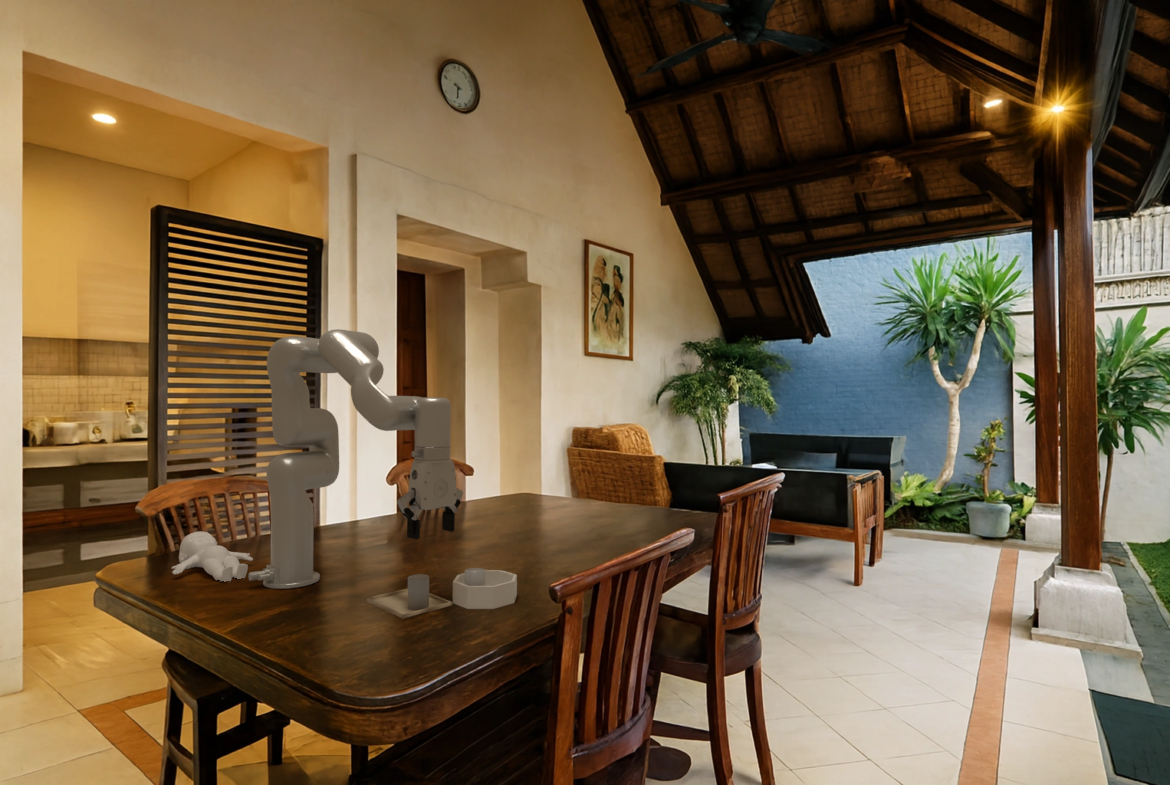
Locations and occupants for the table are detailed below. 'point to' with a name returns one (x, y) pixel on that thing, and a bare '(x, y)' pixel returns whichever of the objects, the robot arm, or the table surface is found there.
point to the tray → (405, 603)
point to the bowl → (486, 591)
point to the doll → (210, 557)
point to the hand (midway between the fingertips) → (431, 534)
